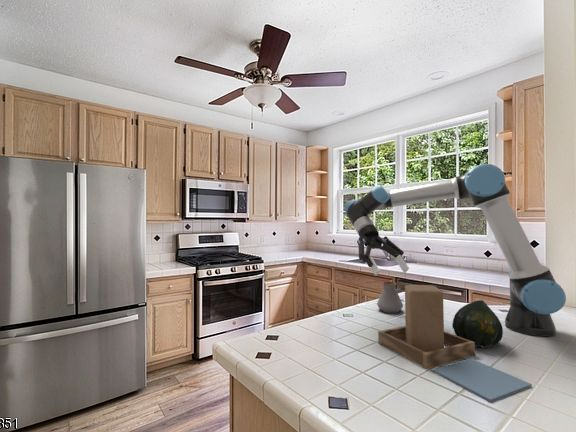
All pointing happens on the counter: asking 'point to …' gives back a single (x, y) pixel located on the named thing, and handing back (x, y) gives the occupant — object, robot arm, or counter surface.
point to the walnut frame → (454, 352)
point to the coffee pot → (390, 298)
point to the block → (424, 317)
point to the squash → (478, 324)
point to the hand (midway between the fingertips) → (392, 272)
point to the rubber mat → (482, 379)
